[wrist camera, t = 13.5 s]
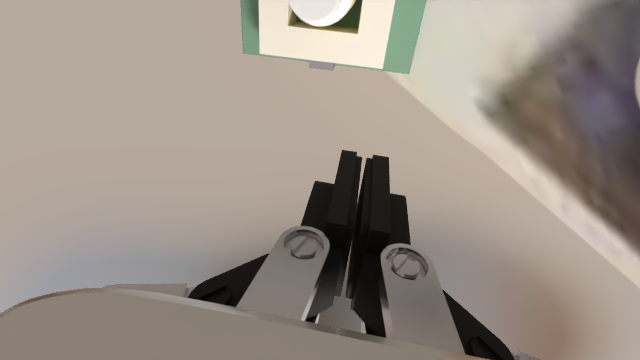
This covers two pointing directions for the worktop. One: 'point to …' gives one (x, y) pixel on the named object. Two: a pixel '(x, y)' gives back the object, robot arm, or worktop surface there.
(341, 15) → the supplement bottle
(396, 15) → the board
